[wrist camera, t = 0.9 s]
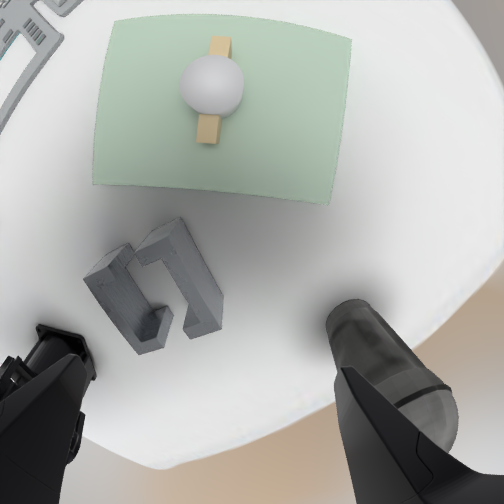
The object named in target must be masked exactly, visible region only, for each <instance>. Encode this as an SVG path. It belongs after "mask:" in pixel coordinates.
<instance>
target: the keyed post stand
mask: <svg viewBox="0 0 504 504" xmlns="http://www.w3.org/2000/svg"><path fill="white" fill-rule="evenodd" d="M351 42H352V39H349V38H346V37H343V36H340V35H337V34H333V33H330V32H326V31H322V30H318V29H314V28H310V27H306V26H301V25H297V24H292V23H287V22H281V21H275V20H269V19H262V18H254V17H245V16H233V15H217V14H176V15H159V16H148V17H139V18H131V19H124V20H118V21H115V22H114V26H113V29H112V33H111V37H110V41H109V45H108V49H107V54H106V58H105V63H104V68H103V73H102V79H101V85H100V91H99V98H98V106H97V115H96V124H95V136H94V152H93V184H101V185H131V186H151V187H168V188H182V189H195V190H207V191H218V192H228V193H238V194H247V195H256V196H265V197H273V198H281V199H288V200H296V201H303V202H310V203H316V204H323V205H329V203H330V198H331V193H332V188H333V182H334V177H335V171H336V165H337V159H338V153H339V147H340V140H341V133H342V127H343V119H344V112H345V104H346V96H347V87H348V77H349V67H350V55H351Z"/></svg>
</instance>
